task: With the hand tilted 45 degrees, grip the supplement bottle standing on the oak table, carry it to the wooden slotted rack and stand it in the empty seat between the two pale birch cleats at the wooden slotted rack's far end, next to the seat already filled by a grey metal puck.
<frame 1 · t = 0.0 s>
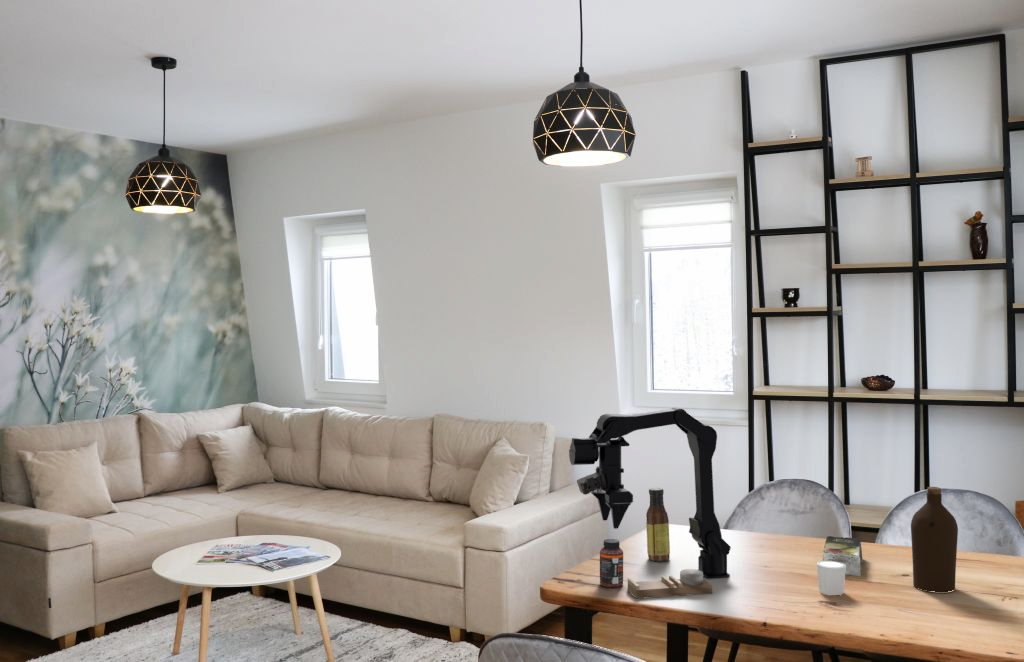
hand: (610, 524, 226), 15 cm above the table, tool pointing down, fingers open, 9 cm apart
juice carton: (842, 567, 240), on the table
olive oil: (934, 588, 220), on the table
sauce bottle: (658, 560, 247), on the table
wooden slotted rack: (669, 591, 217), on the table
white cup: (831, 593, 216), on the table
supplement bottle: (611, 585, 223), on the table
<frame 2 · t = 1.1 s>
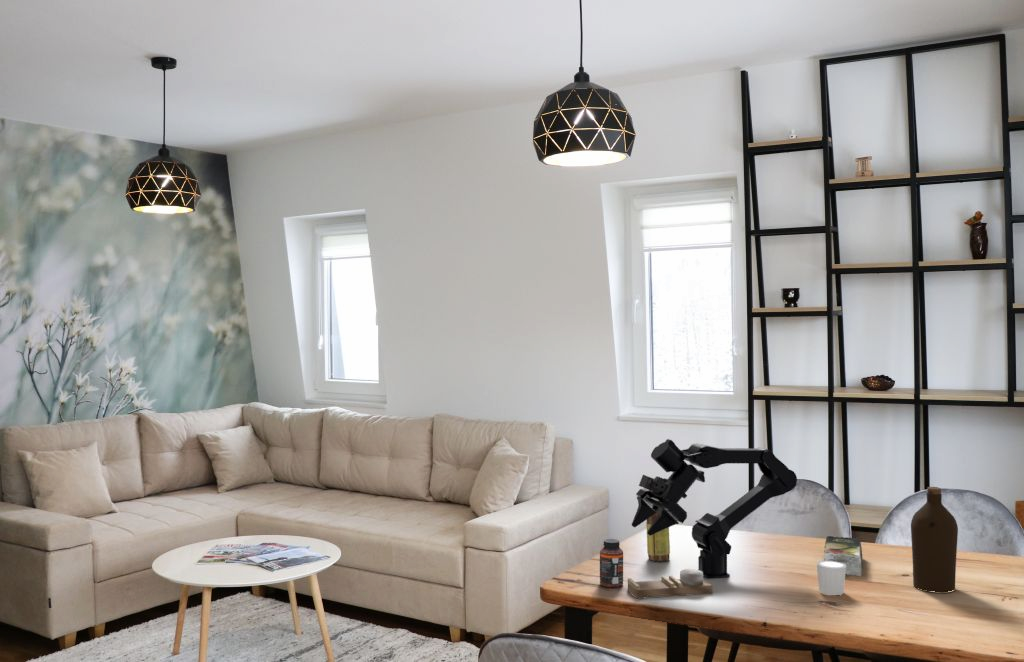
hand: (640, 530, 225), 13 cm above the table, tool tilted 45°, fingers open, 9 cm apart
nothing on the table moved.
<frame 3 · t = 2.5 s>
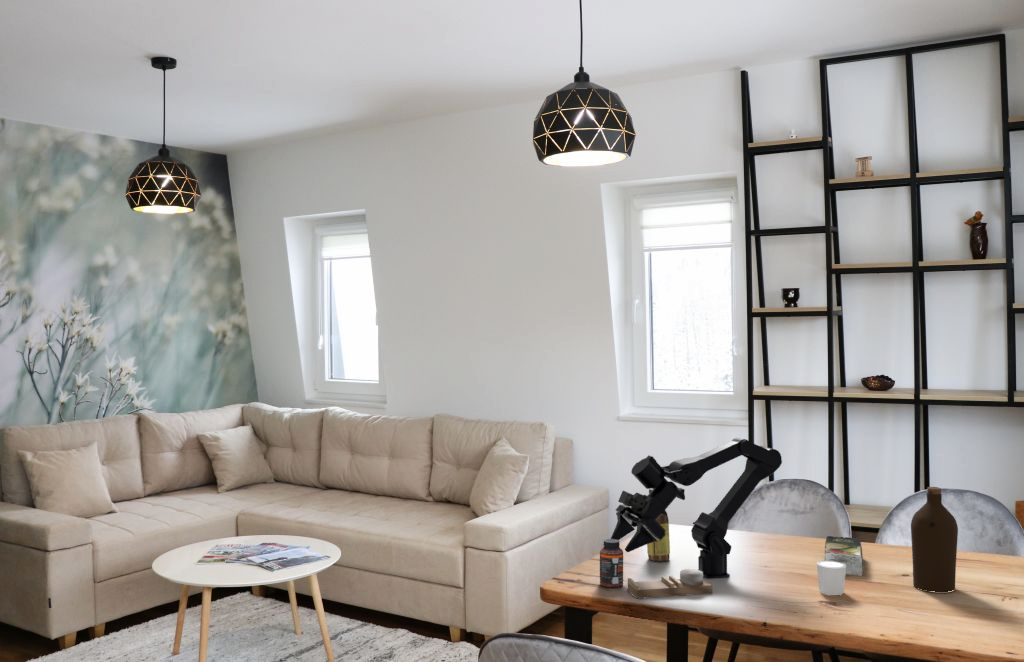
hand: (618, 546, 224), 10 cm above the table, tool tilted 45°, fingers open, 9 cm apart
nothing on the table moved.
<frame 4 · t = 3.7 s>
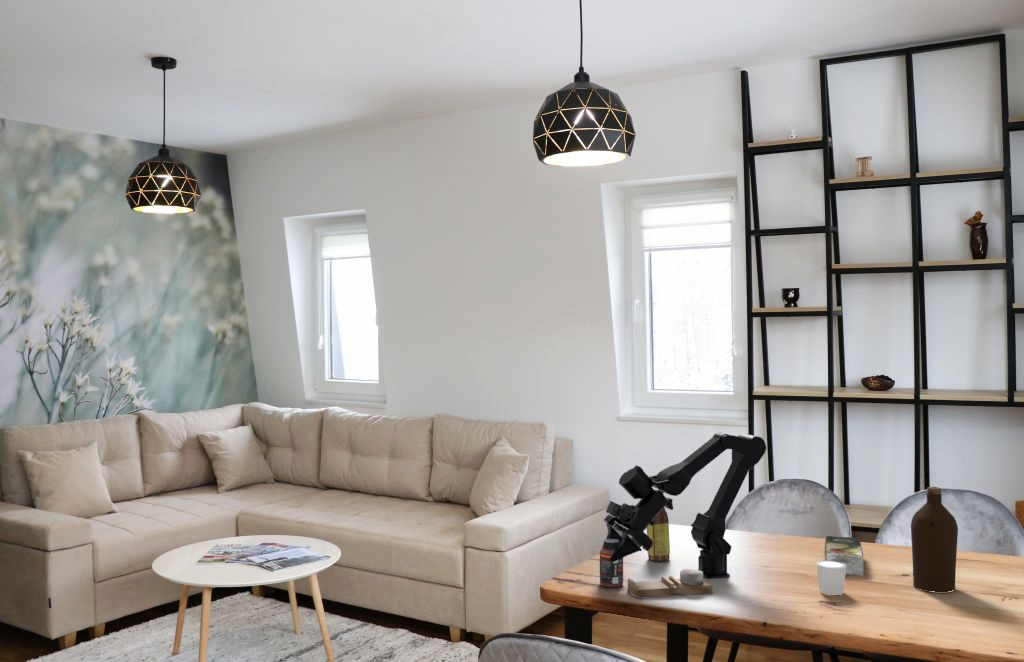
hand: (606, 557, 223), 7 cm above the table, tool tilted 45°, fingers closed on supplement bottle, 6 cm apart
supplement bottle: (611, 585, 223), on the table, touching gripper
everything else where it was.
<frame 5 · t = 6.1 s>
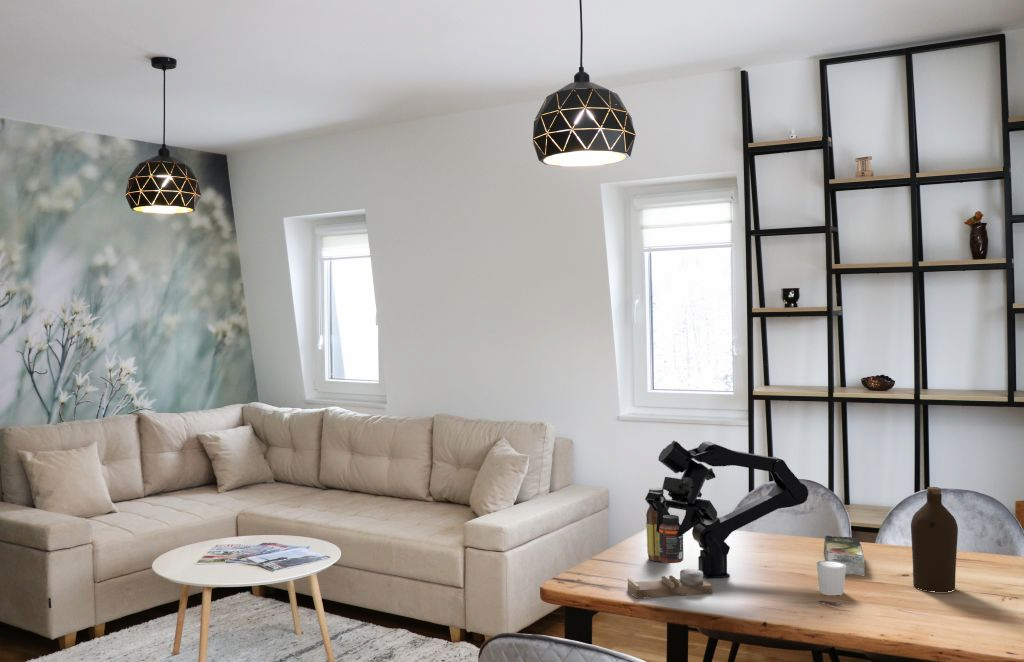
hand: (667, 533, 221), 13 cm above the table, tool tilted 45°, fingers closed on supplement bottle, 6 cm apart
supplement bottle: (671, 561, 223), point 6 cm above the table, touching gripper
everything else where it was.
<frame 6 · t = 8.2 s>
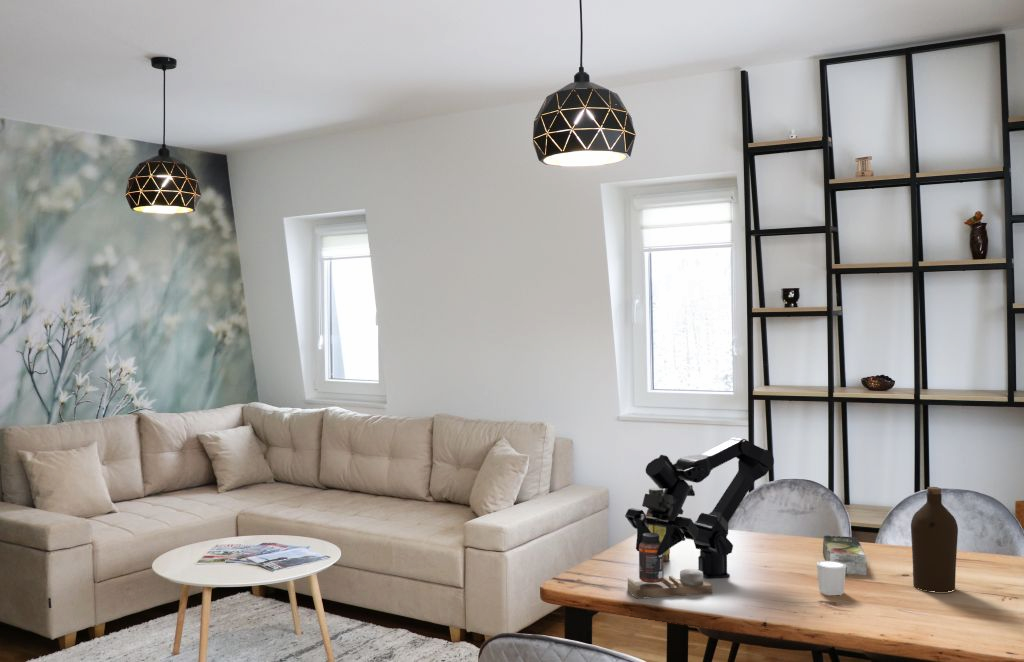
hand: (647, 552, 215), 10 cm above the table, tool tilted 45°, fingers closed on supplement bottle, 6 cm apart
supplement bottle: (651, 580, 216), point 3 cm above the table, touching gripper
everything else where it was.
when the fingers open (10 cm above the table, at t = 8.2 s): supplement bottle drops 1 cm, resting on wooden slotted rack.
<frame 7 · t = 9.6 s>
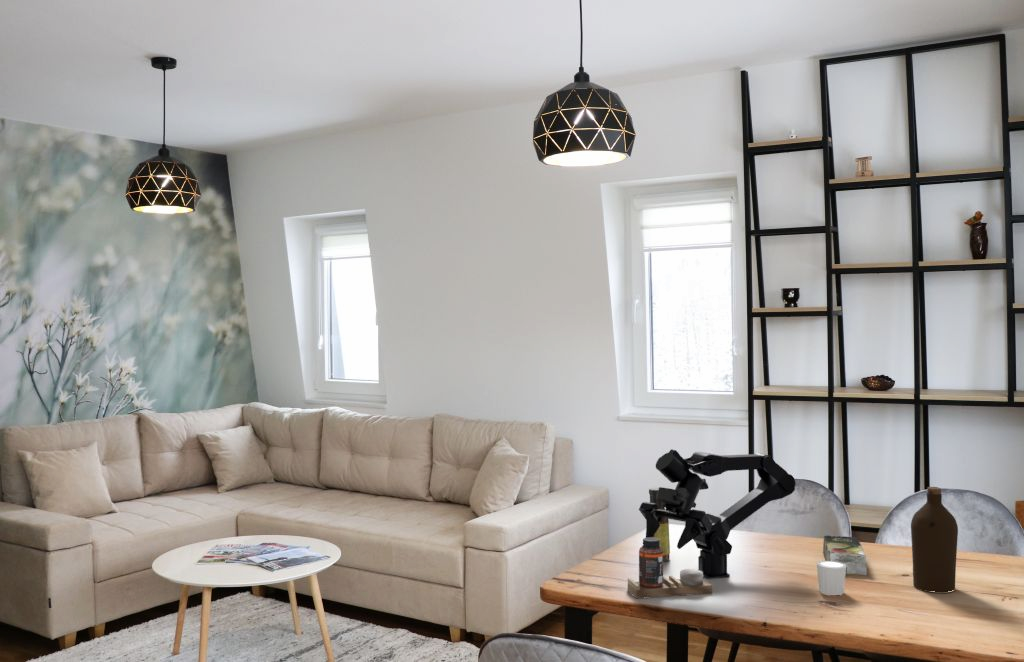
hand: (662, 544, 219), 11 cm above the table, tool tilted 45°, fingers open, 9 cm apart
supplement bottle: (651, 585, 216), point 2 cm above the table, touching wooden slotted rack
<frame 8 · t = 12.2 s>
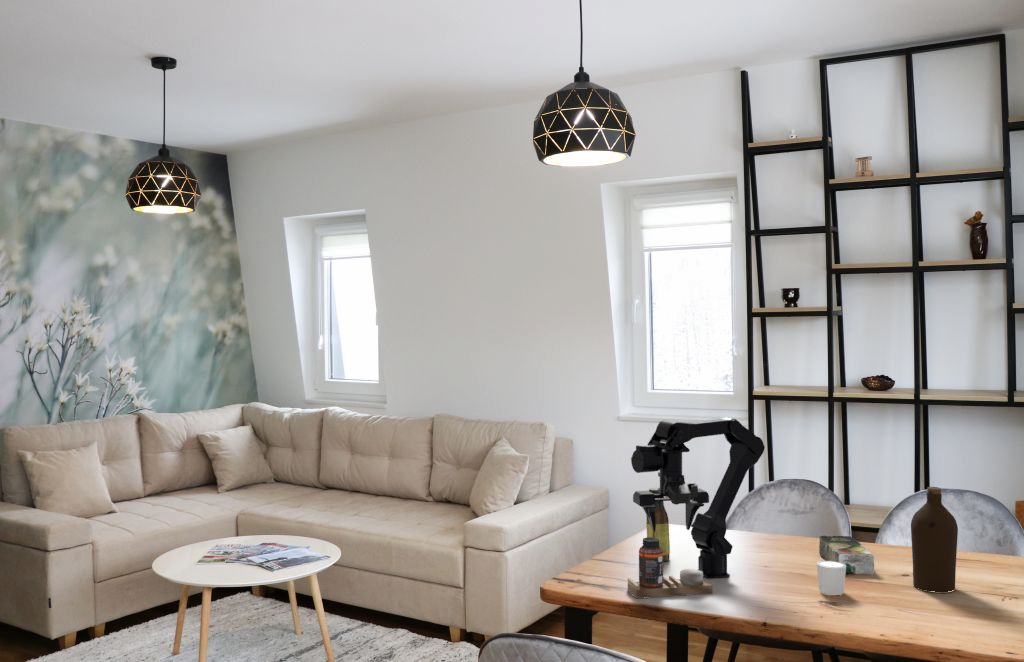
hand: (671, 530, 226), 13 cm above the table, tool pointing down, fingers open, 9 cm apart
at the end: supplement bottle 0.2 cm from the target spot on the wooden slotted rack, point 1.8 cm above the wooden slotted rack's base; supplement bottle tilted 0°; the gripper is holding nothing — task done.
